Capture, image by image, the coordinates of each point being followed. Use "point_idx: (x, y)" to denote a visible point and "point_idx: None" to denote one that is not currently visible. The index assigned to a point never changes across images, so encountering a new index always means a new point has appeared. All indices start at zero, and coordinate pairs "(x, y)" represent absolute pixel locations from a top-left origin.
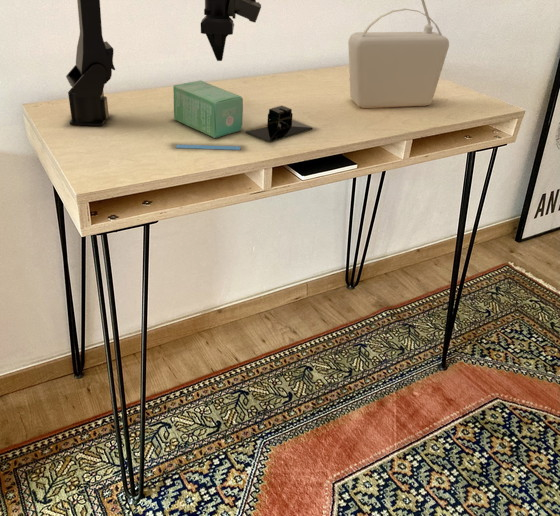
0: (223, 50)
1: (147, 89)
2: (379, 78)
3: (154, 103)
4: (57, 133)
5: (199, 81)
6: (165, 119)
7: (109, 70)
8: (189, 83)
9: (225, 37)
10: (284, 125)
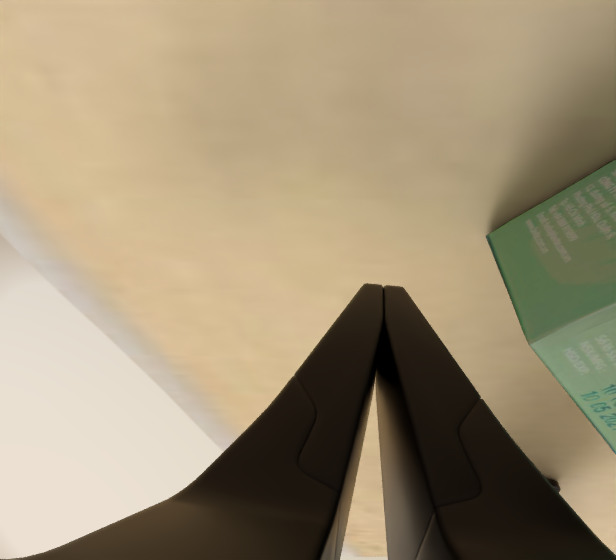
0: (450, 358)
1: (190, 385)
2: None
3: None
4: None
5: (566, 355)
6: (527, 349)
7: None
8: (610, 403)
9: (608, 558)
10: None
